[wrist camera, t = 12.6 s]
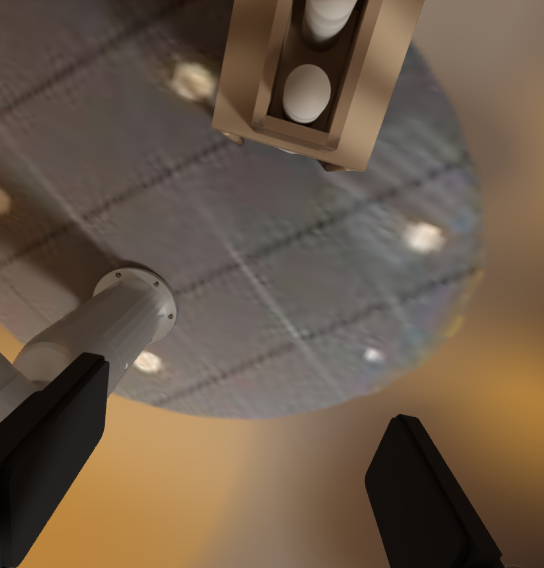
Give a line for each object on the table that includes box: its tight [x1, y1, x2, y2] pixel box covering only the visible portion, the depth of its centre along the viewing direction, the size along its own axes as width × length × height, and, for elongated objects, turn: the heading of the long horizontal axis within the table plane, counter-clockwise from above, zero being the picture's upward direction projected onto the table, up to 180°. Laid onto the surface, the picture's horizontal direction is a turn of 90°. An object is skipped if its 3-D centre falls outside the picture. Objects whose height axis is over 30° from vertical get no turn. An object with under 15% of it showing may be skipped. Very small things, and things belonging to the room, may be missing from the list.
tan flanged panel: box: [211, 0, 425, 172], centre depth 29 cm, size 13×13×20 cm
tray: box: [251, 0, 383, 154], centre depth 20 cm, size 10×6×6 cm, turn 165°
